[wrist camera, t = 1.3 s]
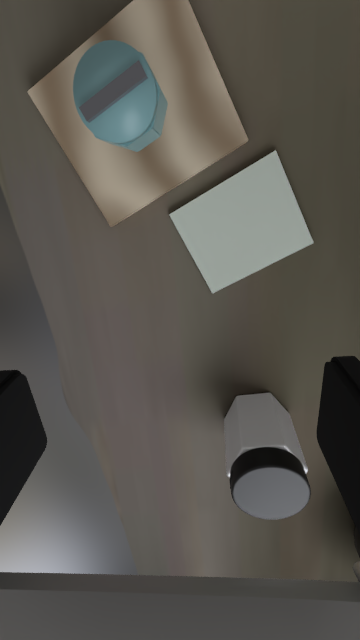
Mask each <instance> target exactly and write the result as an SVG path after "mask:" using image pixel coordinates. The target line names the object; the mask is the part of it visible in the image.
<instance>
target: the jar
mask: <svg viewBox="0 0 360 640" xmlns="http://www.w3.org/2000/svg"><path fill="white" fill-rule="evenodd" d="M224 431H225V453H226V474H227V476H228V477H229V478H230V489H231V494H232V498H233V500H234V502H235V504H236V505H237V506H238V507H239V508H240V509H241V510H242V511H244V512H245V513H247V514H249V515H251V516H254V517H257V518H261V519H282V518H287V517H290V516H292V515H294V514H296V513H298V512H300V511H301V510H302V509H303V508H304V507H305V506H306V505H307V503H308V501H309V499H310V495H311V490H310V485H309V482H308V479H307V476H306V473H307V472H308V468H307V465H306V462H305V459H304V456H303V453H302V450H301V447H300V444H299V441H298V438H297V435H296V432H295V429H294V426H293V423H292V420H291V417H290V414H289V413H288V412H287V411H286V409H285V408H284V407H283V406H282V405H281V404H280V403H279V402H278V400H277V399H276V398H275V397H274V396H273V395H272V394H271V393H260V394H250V395H239V396H236V398H235V400H234V401H233V403H232V405H231V407H230V409H229V411H228V413H227V415H226V417H225V419H224Z"/></svg>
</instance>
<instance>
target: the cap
mask: <svg viewBox="0 0 360 640" xmlns="http://www.w3.org/2000/svg"><path fill="white" fill-rule="evenodd" d="M73 96H74V102H75V106H76V109H77V111H78V114H79V116H80V118H81V120H82V121H83V123H84V124H85V125H86V127H87V128H88V129H89V130H90V131H91V132H92V133H93V134H94V136H95V137H96V138H97V139H100V140H102V141H105V142H107V143H109V144H112V145H115V146H119V147H122V148H125V149H129V150H132V151H135V152H139V151H140V150H142V149H143V148H145V147H146V146H147V145H149V144H150V143H152V142H153V141H155V140H156V139H158V138H159V137H160V135H161V134H162V129H163V125H164V120H165V115H166V110H167V106H168V102H167V100H166V98H165V96H164V94H163V92H162V90H161V88H160V86H159V84H158V82H157V80H156V78H155V76H154V74H153V72H152V70H151V68H150V66H149V64H148V62H147V60H146V59H145V57H144V55H143V54H142V53H141V52H138V51H137V50H136V49H135V48H133V47H132V46H130V45H128V44H127V43H124V42H121V41H117V40H107V41H102V42H99V43H97V44H95V45H93V46H92V47H91V48H89V49H88V50H87V51H86V52H85V53H84V55H83V56H82V57H81V59H80V61H79V63H78V65H77V68H76V71H75V74H74V80H73Z"/></svg>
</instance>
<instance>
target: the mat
mask: <svg viewBox="0 0 360 640" xmlns="http://www.w3.org/2000/svg"><path fill="white" fill-rule="evenodd" d="M169 215H170V217H171V219H172V221H173V223H174V225H175V226H176V228H177V230H178V232H179V234H180V235H181V237H182V239H183V241H184V243H185V245H186V246H187V248H188V250H189V252H190V254H191V255H192V257H193V259H194V261H195V263H196V265H197V266H198V268H199V270H200V272H201V274H202V276H203V277H204V279H205V281H206V283H207V285H208V286H209V288H210V290H211V292H212V293H214V292H216V291H218V290H220V289H222V288H224V287H226V286H228V285H230V284H232V283H234V282H236V281H238V280H240V279H242V278H244V277H246V276H248V275H250V274H252V273H254V272H256V271H258V270H260V269H262V268H264V267H266V266H268V265H270V264H272V263H274V262H276V261H278V260H280V259H282V258H284V257H286V256H288V255H290V254H293V253H295V252H297V251H299V250H301V249H303V248H305V247H307V246H309V245H311V244H313V240H312V238H311V235H310V233H309V230H308V228H307V225H306V223H305V221H304V218H303V216H302V213H301V211H300V208H299V206H298V203H297V201H296V198H295V196H294V194H293V191H292V189H291V186H290V184H289V181H288V179H287V176H286V174H285V171H284V169H283V167H282V164H281V162H280V159H279V157H278V154H277V152H276V150H275V151H274V152H272V153H270V154H269V155H267V156H265V157H264V158H262V159H260V160H259V161H257V162H255V163H254V164H252V165H250V166H249V167H247V168H245V169H244V170H242V171H240V172H239V173H237V174H235V175H234V176H232V177H230V178H229V179H227V180H225V181H224V182H222V183H220V184H219V185H217V186H216V187H214V188H212V189H211V190H209V191H207V192H206V193H204V194H202V195H201V196H199V197H197V198H196V199H194V200H192V201H191V202H189V203H187V204H186V205H184V206H182V207H181V208H179V209H177V210H176V211H174V212H172V213H171V214H169Z"/></svg>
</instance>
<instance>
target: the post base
mask: <svg viewBox="0 0 360 640" xmlns="http://www.w3.org/2000/svg"><path fill="white" fill-rule="evenodd" d="M107 40H117V41H121V42H124V43H127V44H128V45H130V46H132V47H133V48H135V49H136V50H137V51H138V52H141V53H142V54H143V55H144V57H145V59H146V60H147V62H148V64H149V66H150V68H151V70H152V72H153V74H154V76H155V78H156V80H157V82H158V84H159V86H160V88H161V90H162V92H163V94H164V96H165V98H166V100H167V102H168V106H167V110H166V115H165V120H164V125H163V129H162V134H161V135H160V137H159V138H158V139H156V140H155V141H153V142H152V143H150V144H149V145H147V146H146V147H145V148H143V149H142V150H140V151H139V152H135V151H132V150H129V149H125V148H122V147H119V146H115V145H112V144H109V143H107V142H105V141H102V140H100V139H97V138H96V137H95V136H94V134H93V133H92V132H91V131H90V130H89V129H88V128H87V127H86V125H85V124H84V123H83V121H82V120H81V118H80V116H79V114H78V111H77V109H76V106H75V102H74V96H73V80H74V74H75V71H76V68H77V65H78V63H79V61H80V59H81V57H82V56H83V55H84V53H85V52H86V51H87V50H88V49H89V48H91V47H92V46H93V45H95V44H97V43H99V42H102V41H107ZM27 92H28V94H29V95H30V97H31V99H32V100H33V102H34V104H35V105H36V107H37V108H38V110H39V112H40V113H41V115H42V116H43V118H44V120H45V121H46V123H47V125H48V126H49V128H50V129H51V131H52V133H53V134H54V136H55V137H56V139H57V141H58V142H59V144H60V146H61V147H62V149H63V150H64V152H65V154H66V155H67V157H68V158H69V160H70V162H71V163H72V165H73V167H74V168H75V170H76V171H77V173H78V175H79V176H80V178H81V179H82V181H83V183H84V184H85V186H86V188H87V189H88V191H89V192H90V194H91V196H92V197H93V199H94V200H95V202H96V204H97V205H98V207H99V209H100V210H101V212H102V213H103V215H104V217H105V218H106V220H107V221H108V223H109V225H110V226H111V227H112V226H115V225H116V224H118V223H119V222H121V221H123V220H124V219H126V218H127V217H129V216H131V215H132V214H134V213H135V212H137V211H139V210H140V209H142V208H143V207H145V206H147V205H148V204H150V203H151V202H153V201H155V200H156V199H158V198H159V197H161V196H162V195H164V194H166V193H167V192H169V191H170V190H172V189H174V188H175V187H177V186H178V185H180V184H182V183H183V182H185V181H186V180H188V179H190V178H191V177H193V176H194V175H196V174H198V173H199V172H201V171H202V170H204V169H205V168H207V167H209V166H210V165H212V164H213V163H215V162H217V161H218V160H220V159H221V158H223V157H225V156H226V155H228V154H229V153H231V152H233V151H234V150H236V149H237V148H239V147H241V146H242V145H244V144H245V143H247V142H248V138H247V135H246V133H245V131H244V128H243V126H242V124H241V121H240V119H239V117H238V114H237V112H236V110H235V107H234V105H233V103H232V101H231V98H230V96H229V94H228V91H227V89H226V87H225V84H224V82H223V80H222V77H221V75H220V73H219V70H218V68H217V66H216V63H215V61H214V59H213V56H212V54H211V52H210V49H209V47H208V45H207V42H206V40H205V38H204V35H203V33H202V31H201V28H200V26H199V24H198V22H197V19H196V17H195V15H194V12H193V10H192V8H191V5H190V3H189V1H188V0H133V1H132V2H131V3H130V4H128V5H127V6H126V7H125V8H124V9H123V10H121V11H120V12H119V13H118V14H117V15H116V16H114V17H113V18H112V19H111V20H110V21H109V22H108V23H106V24H105V25H104V26H103V27H102V28H101V29H99V30H98V31H97V32H96V33H95V34H94V35H92V36H91V37H90V38H89V39H88V40H87V41H85V42H84V43H83V44H82V45H81V46H80V47H78V48H77V49H76V50H75V51H74V52H73V53H71V54H70V55H69V56H68V57H67V58H66V59H65V60H63V61H62V62H61V63H60V64H59V65H58V66H56V67H55V68H54V69H53V70H52V71H51V72H49V73H48V74H47V75H46V76H45V77H44V78H42V79H41V80H40V81H39V82H38V83H37V84H35V85H34V86H33V87H32V88H31V89H30V90H28V91H27Z"/></svg>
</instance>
